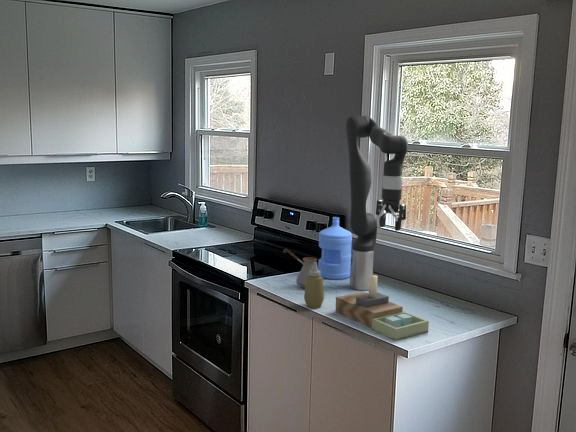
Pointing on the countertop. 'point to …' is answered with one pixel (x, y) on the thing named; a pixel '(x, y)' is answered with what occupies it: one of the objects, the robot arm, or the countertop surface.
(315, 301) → the squeeze bottle
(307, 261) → the coffee pot
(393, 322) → the pale blue cube
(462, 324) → the countertop surface
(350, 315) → the flat wooden board
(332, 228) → the water jug
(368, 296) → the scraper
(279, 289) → the countertop surface
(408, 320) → the light blue block
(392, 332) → the bin
